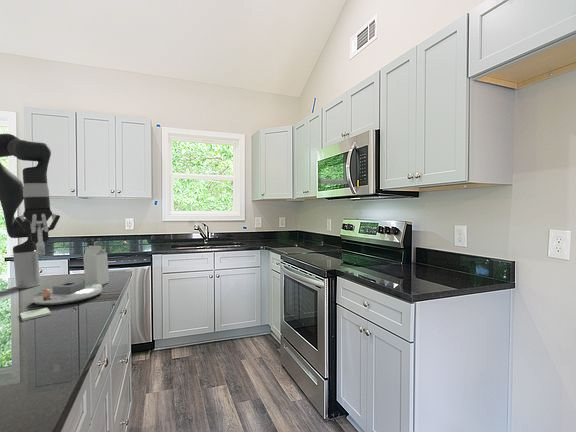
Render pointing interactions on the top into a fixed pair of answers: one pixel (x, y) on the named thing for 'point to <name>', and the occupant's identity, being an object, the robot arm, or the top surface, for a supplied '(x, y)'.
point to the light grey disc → (67, 293)
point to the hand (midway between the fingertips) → (40, 242)
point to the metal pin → (40, 238)
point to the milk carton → (96, 265)
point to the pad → (35, 314)
